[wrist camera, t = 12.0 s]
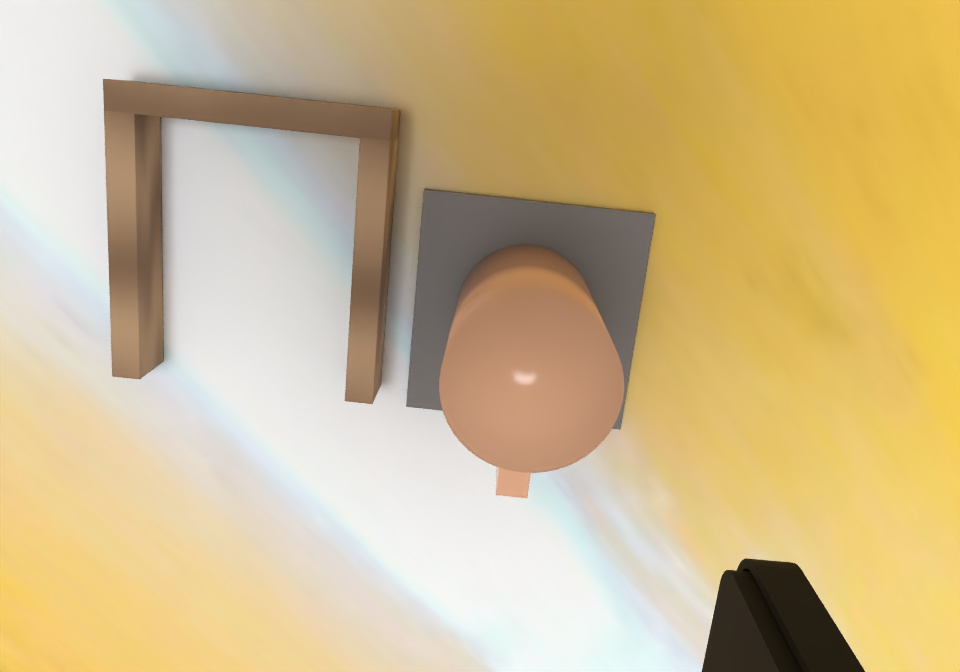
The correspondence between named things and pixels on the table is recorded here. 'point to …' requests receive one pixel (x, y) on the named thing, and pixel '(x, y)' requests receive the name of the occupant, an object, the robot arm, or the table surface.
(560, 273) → the pink mug
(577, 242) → the mat
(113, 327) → the brown wooden u-shaped piece
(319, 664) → the table surface
